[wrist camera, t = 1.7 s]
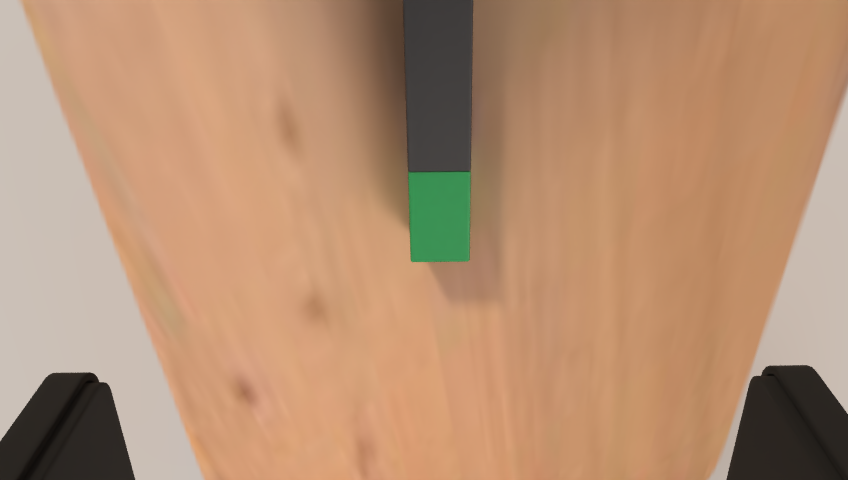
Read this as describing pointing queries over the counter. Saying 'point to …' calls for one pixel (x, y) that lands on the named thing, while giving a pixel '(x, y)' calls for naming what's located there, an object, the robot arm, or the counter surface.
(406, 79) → the marker
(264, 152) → the counter surface
